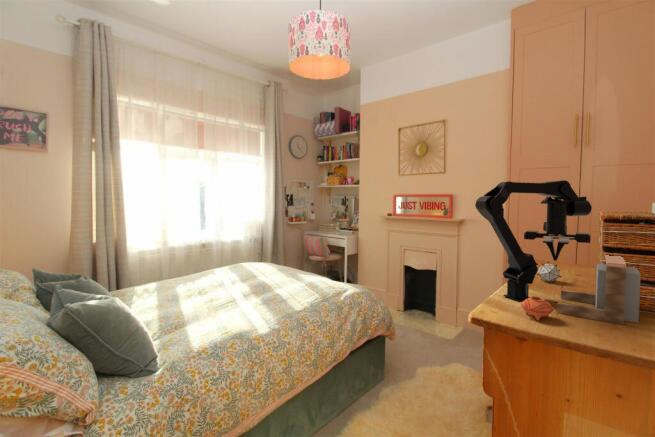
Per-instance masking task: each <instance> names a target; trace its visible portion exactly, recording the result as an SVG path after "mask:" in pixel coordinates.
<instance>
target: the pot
mask: <svg viewBox="0 0 655 437" xmlns="http://www.w3.org/2000/svg"><path fill="white" fill-rule="evenodd" d="M529 297H530V298H528V299H525V300H524V301H521V304H520V306H521V308H522V309H523V310H524V313H525V315H531V316H533V317H534V318H535V321H540V319H541V318H543V317H545V318H546V319H547V318H548V317H549V316H550V315H551V314H552V313H553V312H554V308H553V305H552V304H550V303H549V302H548V301H546V299H545V298H542V297H540V296H536V295H532V296H529Z"/></svg>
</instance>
